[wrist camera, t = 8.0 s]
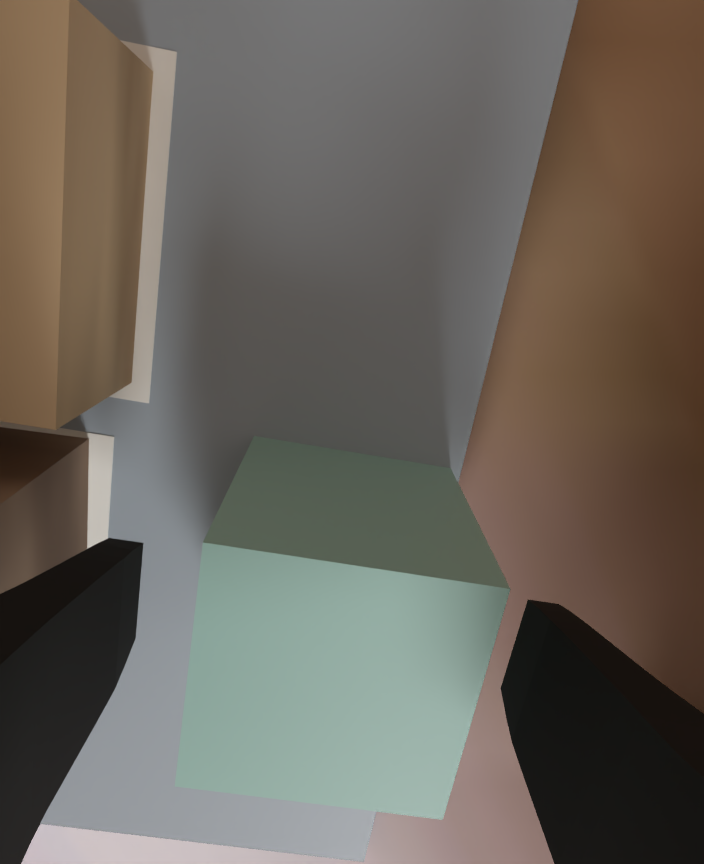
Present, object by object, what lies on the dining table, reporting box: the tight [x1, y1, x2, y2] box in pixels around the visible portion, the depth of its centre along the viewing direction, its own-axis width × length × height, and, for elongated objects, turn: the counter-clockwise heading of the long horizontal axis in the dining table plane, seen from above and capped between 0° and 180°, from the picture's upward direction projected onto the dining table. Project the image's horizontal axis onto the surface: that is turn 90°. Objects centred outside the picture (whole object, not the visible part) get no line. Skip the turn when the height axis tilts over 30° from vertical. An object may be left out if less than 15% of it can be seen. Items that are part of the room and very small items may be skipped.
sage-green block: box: [175, 436, 510, 820], centre depth 11 cm, size 4×4×5 cm
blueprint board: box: [0, 0, 578, 862], centre depth 13 cm, size 15×22×1 cm
